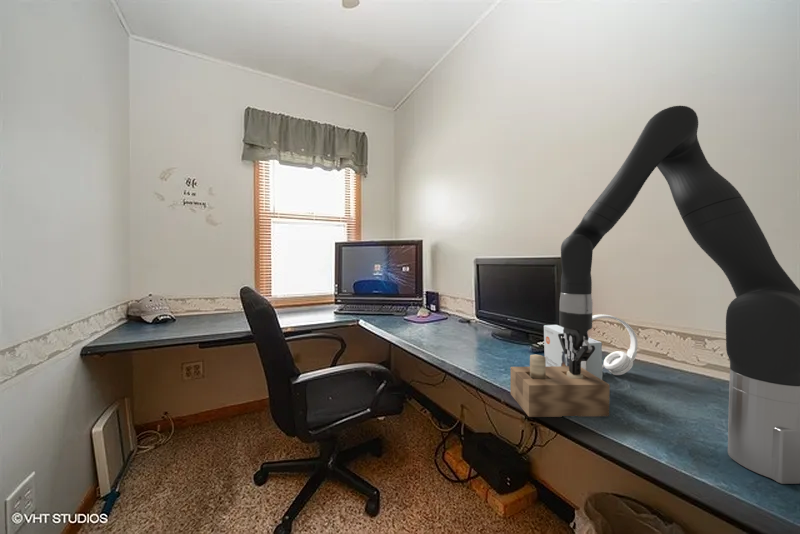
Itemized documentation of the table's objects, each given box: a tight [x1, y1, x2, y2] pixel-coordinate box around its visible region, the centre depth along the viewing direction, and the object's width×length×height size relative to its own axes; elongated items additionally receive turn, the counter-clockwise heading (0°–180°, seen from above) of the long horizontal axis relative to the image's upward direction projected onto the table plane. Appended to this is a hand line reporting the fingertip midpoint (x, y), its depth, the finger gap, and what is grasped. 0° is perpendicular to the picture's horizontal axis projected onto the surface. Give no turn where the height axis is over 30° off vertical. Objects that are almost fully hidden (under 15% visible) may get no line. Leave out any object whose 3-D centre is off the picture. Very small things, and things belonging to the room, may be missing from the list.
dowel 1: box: [529, 354, 546, 379], centre depth 77 cm, size 4×4×8 cm
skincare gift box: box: [543, 324, 603, 380], centre depth 91 cm, size 21×5×16 cm, turn 4°
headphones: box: [592, 313, 639, 376], centre depth 97 cm, size 8×19×20 cm, turn 78°
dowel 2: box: [567, 371, 583, 379], centre depth 77 cm, size 4×4×8 cm
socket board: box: [510, 366, 611, 418], centre depth 77 cm, size 20×12×8 cm, turn 90°
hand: (574, 373), depth 77 cm, fingers closed
